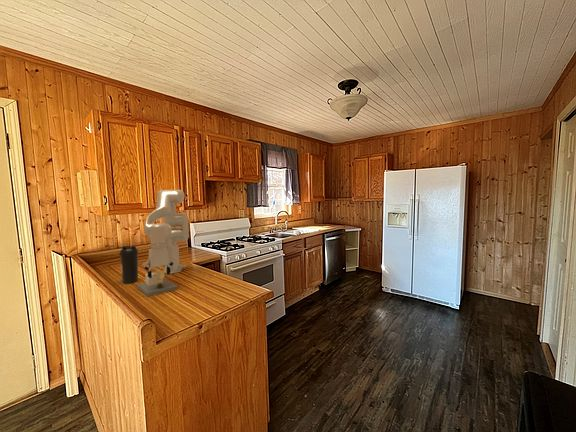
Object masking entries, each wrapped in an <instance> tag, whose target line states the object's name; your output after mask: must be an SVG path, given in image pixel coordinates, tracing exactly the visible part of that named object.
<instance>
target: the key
mask: <svg viewBox="0 0 576 432" xmlns="http://www.w3.org/2000/svg"><path fill="white" fill-rule="evenodd" d="M152 273H153V274H155V276H156V277H158V287H162V278H163V279H166V278H165V273H164V272H163V270H162V269H159V268H158V269H157V268H156V269H154V271H152Z"/></svg>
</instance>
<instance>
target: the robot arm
mask: <svg viewBox="0 0 576 432" xmlns="http://www.w3.org/2000/svg"><path fill="white" fill-rule="evenodd" d="M156 196H157V197H156V198H157V200H156V205H155V206H156V207H155V209H154V210H153V211H152V212H150V213H149V214H148V216H146V219H145V222H144V228H143V229H144V230H143V232H144V235H146V237H150V249H148V254H147V255H148V257H147V260H146V261H145V262H143V263H142V264H141V266H142V267H143V269H145V270H146V272H147V273H148V277H149V278H152V273H153V271H152V269H153V268H158V267H164V270H162V271H163V272H164V274H167V275H171V274H178V273H180V272H182V271H183V269H182V268H187V264H186V263H185V264H180V252H179V251H180V250H179V249H180V248H179V245H178V244H177V243H176V242H185V241H188V240H189V237H190V235H189V218H188V215H187V214H186V213H179V212H177V206H176V204H181V203H182V202H184V200H185V196H186V195H185V192H184V191H183V190H182V189H160V190H158V191H157V192H156ZM161 218H163V222H162V223H159V222H158V223H154V222H155V221H157V220H159V219H161ZM172 227H173V228H172ZM177 227H179V228H177ZM146 265H148V267H147V266H146Z"/></svg>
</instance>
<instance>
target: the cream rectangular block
mask: <svg viewBox="0 0 576 432" xmlns="http://www.w3.org/2000/svg"><path fill="white" fill-rule="evenodd" d="M144 275H145V283H146V284H147V285H148V286H151V285H156V284H158V277H156V276H155V274H153V272H152V278H149V277H148V272H147V273H145V274H144ZM163 279H164V278H162V283H163Z"/></svg>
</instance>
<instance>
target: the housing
mask: <svg viewBox="0 0 576 432" xmlns="http://www.w3.org/2000/svg"><path fill="white" fill-rule="evenodd" d="M178 287H179V286H178V285H177V284H175V283H174V282H171V281H170V280H169V279H167V278H163V283H162V287H158V284H156V285H151V286H148V285H147V284H146V282H142V283H140V284H139V283H138V284H137V289H138V290H140V292H142V293H143V294H144V295H145V296H146V297H151V296H155V295H159V294H164V293H168V292H172V291H176V290H178Z"/></svg>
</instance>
